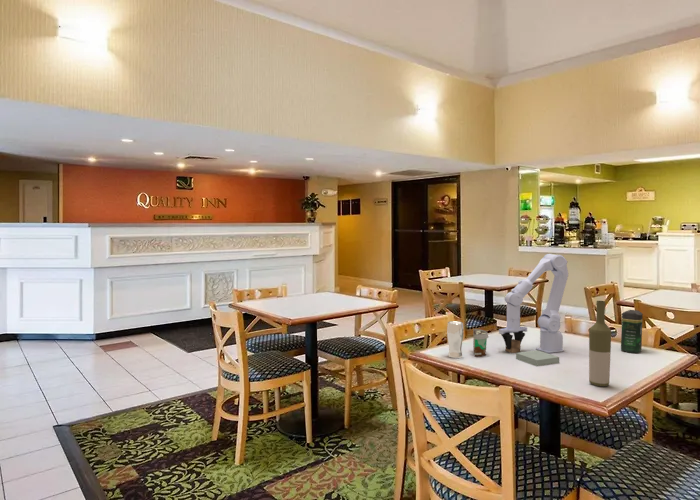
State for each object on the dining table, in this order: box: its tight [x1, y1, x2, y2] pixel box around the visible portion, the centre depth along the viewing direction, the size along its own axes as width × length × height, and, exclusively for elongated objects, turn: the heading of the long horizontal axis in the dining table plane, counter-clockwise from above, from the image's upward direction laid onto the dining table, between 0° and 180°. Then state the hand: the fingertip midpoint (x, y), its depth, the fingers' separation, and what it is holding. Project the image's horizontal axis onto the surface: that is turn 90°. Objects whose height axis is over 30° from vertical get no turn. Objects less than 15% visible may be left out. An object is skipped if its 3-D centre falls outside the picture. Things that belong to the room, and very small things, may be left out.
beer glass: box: [446, 320, 464, 359], centre depth 206 cm, size 7×7×15 cm
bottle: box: [588, 300, 612, 387], centre depth 169 cm, size 7×7×30 cm
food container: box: [472, 328, 489, 358], centre depth 211 cm, size 12×6×10 cm, turn 168°
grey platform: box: [515, 349, 560, 367], centre depth 200 cm, size 12×12×3 cm
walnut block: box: [505, 338, 521, 354], centre depth 215 cm, size 4×4×5 cm
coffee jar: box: [620, 309, 644, 354], centre depth 215 cm, size 10×8×19 cm
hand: (512, 348), depth 215 cm, fingers closed on walnut block, 4 cm apart
